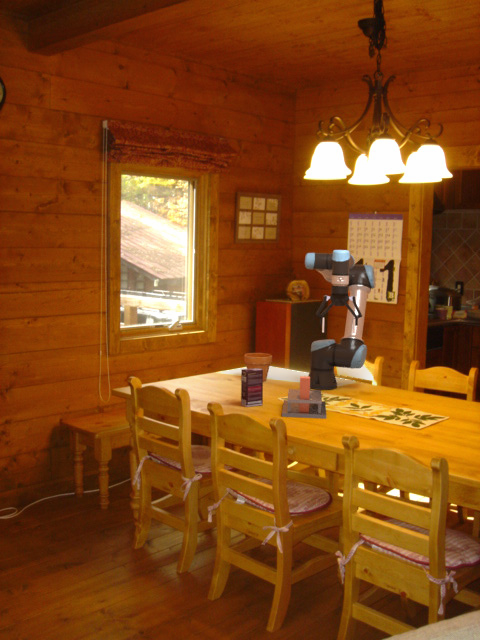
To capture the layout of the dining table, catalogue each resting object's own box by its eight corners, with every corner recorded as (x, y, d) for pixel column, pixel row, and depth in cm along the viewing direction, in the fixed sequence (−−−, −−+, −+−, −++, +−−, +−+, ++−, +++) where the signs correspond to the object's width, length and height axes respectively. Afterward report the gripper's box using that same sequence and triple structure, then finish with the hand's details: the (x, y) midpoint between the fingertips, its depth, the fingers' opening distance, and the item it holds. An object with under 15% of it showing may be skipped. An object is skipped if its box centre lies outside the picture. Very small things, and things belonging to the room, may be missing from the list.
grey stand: (281, 416, 297) (282, 385, 296) (283, 403, 321) (284, 374, 319) (326, 418, 296) (327, 387, 294) (325, 405, 319) (326, 376, 318)
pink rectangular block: (299, 411, 300) (300, 378, 299) (299, 409, 304) (300, 376, 303) (308, 411, 300) (310, 378, 298) (308, 409, 304) (310, 376, 302)
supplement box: (256, 403, 320) (257, 367, 319) (262, 405, 316) (263, 369, 314) (240, 405, 316) (240, 369, 314) (245, 407, 312) (246, 370, 310)
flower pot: (245, 376, 380) (246, 352, 379) (272, 378, 378) (273, 353, 377) (241, 382, 366) (242, 356, 365) (270, 383, 364) (270, 357, 363)
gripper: (311, 285, 319) (310, 332, 322) (369, 286, 317) (367, 334, 319) (311, 283, 326) (310, 330, 329) (367, 285, 324) (366, 332, 327)
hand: (338, 332), depth 324 cm, fingers open, 13 cm apart
